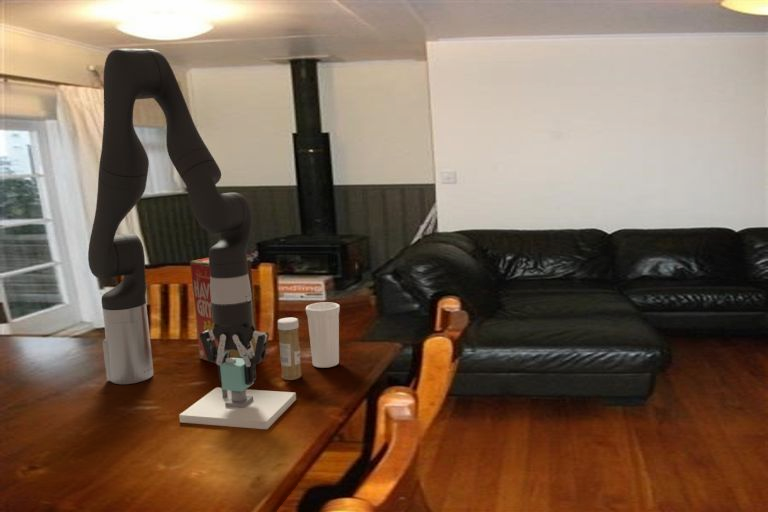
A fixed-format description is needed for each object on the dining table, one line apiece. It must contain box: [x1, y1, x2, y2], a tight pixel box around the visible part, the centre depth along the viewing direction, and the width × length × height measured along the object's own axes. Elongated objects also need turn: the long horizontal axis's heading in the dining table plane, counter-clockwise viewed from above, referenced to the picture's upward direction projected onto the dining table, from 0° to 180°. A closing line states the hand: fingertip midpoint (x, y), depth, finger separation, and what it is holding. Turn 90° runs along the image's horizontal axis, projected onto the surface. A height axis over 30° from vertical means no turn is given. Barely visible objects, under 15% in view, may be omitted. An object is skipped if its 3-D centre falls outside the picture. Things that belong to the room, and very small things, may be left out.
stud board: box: [178, 386, 297, 430], centre depth 122 cm, size 18×14×5 cm
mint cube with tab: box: [220, 358, 255, 392], centre depth 121 cm, size 4×4×6 cm
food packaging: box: [189, 257, 257, 365], centre depth 153 cm, size 13×9×25 cm
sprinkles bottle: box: [277, 317, 302, 381], centre depth 139 cm, size 5×5×13 cm
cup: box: [305, 301, 341, 369], centre depth 146 cm, size 8×8×14 cm
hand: (238, 382), depth 122 cm, fingers closed on mint cube with tab, 4 cm apart
